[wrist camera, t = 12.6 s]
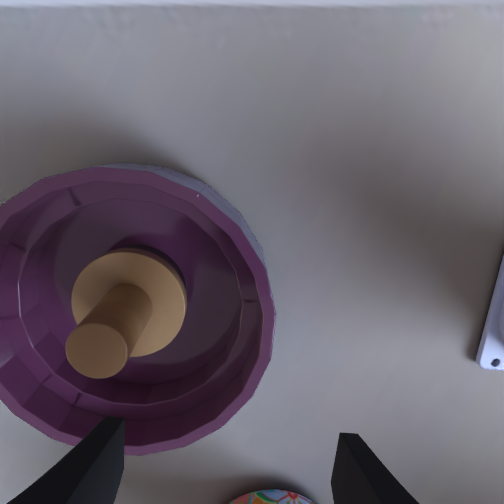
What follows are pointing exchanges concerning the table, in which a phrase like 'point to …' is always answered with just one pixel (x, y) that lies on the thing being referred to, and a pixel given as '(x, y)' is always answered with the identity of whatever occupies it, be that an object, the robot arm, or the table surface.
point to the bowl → (142, 367)
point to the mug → (271, 498)
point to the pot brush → (124, 309)
